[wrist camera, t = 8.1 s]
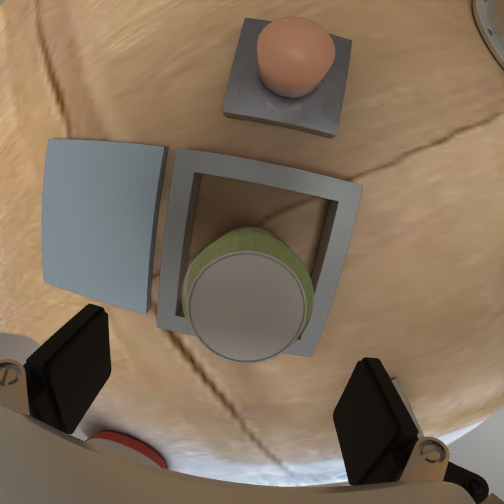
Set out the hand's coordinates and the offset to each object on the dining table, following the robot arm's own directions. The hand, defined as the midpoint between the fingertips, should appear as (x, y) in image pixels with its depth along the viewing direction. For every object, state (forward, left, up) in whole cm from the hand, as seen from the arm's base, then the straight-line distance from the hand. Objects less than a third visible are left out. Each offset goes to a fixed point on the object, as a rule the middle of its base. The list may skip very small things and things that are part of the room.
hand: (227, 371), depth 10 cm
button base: (-14, 0, -14) cm, 20 cm away
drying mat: (0, -14, -14) cm, 20 cm away
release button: (-14, 0, -12) cm, 18 cm away
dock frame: (0, 0, -14) cm, 14 cm away
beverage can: (0, 0, -14) cm, 14 cm away
